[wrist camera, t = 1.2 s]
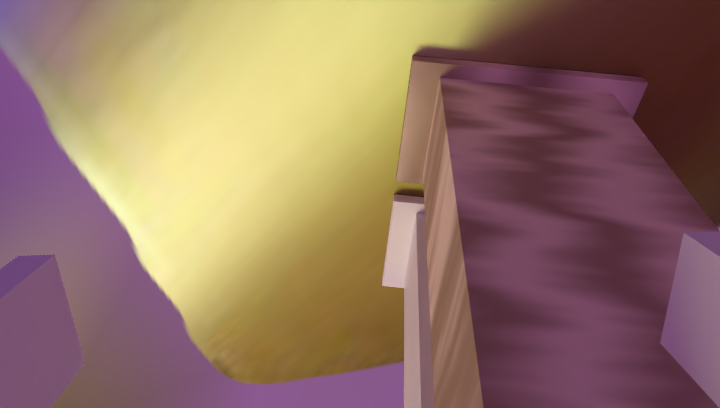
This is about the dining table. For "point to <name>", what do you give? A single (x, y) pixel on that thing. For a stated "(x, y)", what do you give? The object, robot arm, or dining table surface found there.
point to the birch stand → (545, 238)
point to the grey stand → (412, 295)
